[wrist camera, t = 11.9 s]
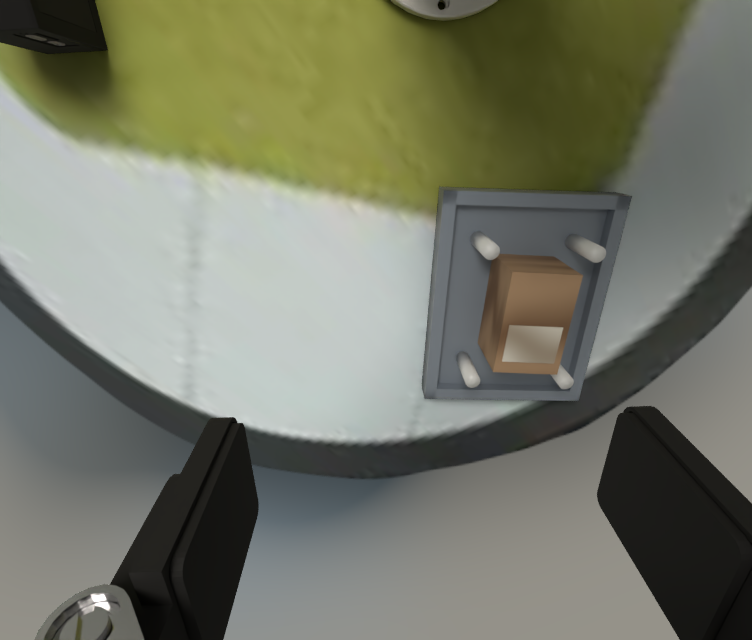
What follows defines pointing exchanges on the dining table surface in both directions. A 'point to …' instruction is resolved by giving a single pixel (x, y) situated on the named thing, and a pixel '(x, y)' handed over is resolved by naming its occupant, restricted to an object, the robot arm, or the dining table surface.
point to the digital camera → (51, 25)
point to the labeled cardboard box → (527, 313)
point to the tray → (471, 273)
